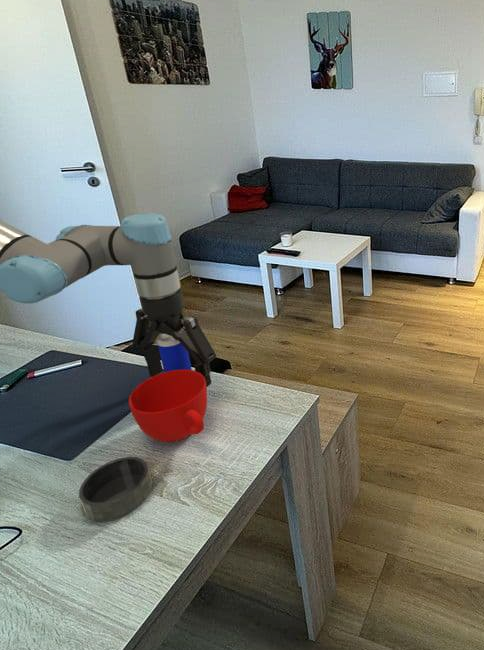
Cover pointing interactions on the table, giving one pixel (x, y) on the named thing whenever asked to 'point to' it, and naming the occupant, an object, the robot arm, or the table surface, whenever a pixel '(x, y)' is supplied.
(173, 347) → the beverage can
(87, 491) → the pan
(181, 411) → the ceramic cup
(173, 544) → the table surface
